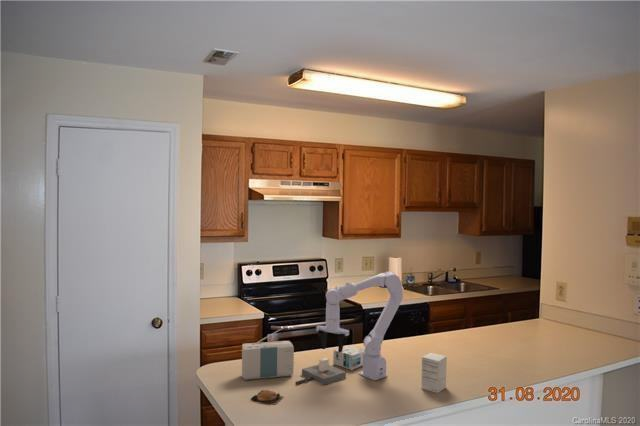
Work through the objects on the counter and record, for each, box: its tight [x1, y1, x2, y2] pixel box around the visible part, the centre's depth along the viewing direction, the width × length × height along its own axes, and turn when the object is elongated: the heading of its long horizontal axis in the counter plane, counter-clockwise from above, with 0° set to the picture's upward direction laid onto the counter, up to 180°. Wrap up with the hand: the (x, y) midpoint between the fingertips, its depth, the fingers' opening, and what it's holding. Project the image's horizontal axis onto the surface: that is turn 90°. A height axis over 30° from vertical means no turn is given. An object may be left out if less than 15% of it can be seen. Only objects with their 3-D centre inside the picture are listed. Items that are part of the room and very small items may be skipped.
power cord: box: [294, 377, 314, 386], centre depth 195 cm, size 1×8×1 cm, turn 130°
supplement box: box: [421, 352, 447, 394], centre depth 191 cm, size 7×7×13 cm
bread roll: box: [250, 389, 284, 406], centre depth 179 cm, size 11×8×4 cm
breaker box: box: [301, 363, 347, 386], centre depth 202 cm, size 14×12×2 cm
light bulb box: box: [332, 345, 365, 371], centre depth 216 cm, size 11×7×11 cm
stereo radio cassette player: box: [241, 325, 295, 381], centre depth 201 cm, size 21×8×20 cm, turn 105°
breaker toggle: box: [318, 357, 330, 372], centre depth 202 cm, size 2×4×4 cm, turn 130°
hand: (332, 350), depth 204 cm, fingers open, 7 cm apart
